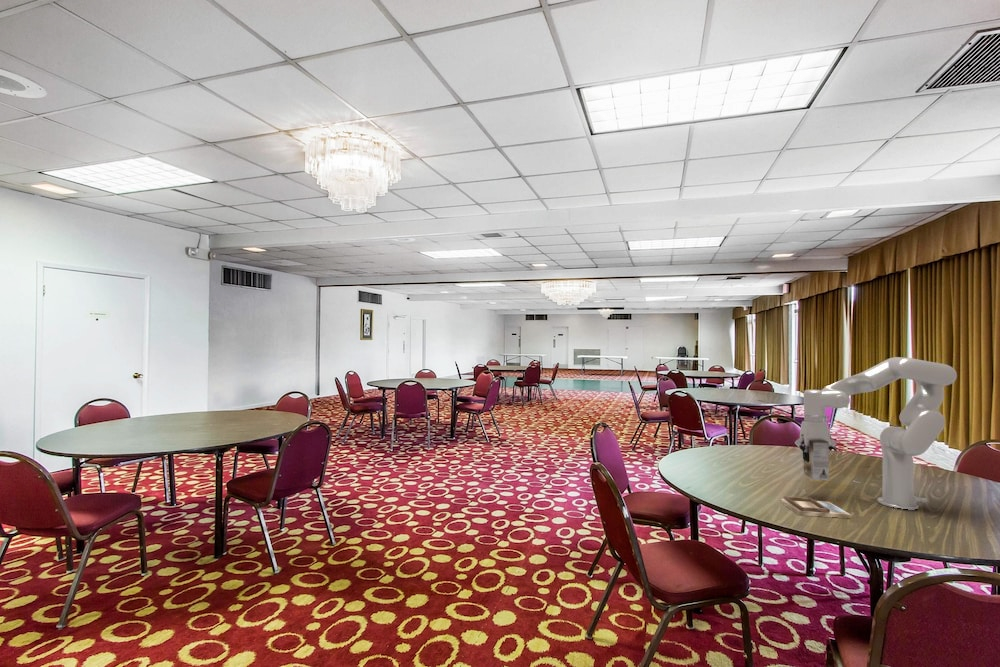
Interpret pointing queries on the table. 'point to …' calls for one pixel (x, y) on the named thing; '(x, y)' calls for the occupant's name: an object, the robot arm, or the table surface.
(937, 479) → the table surface
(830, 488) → the table surface
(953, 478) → the table surface
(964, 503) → the table surface
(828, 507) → the build board
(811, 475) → the coffee box
